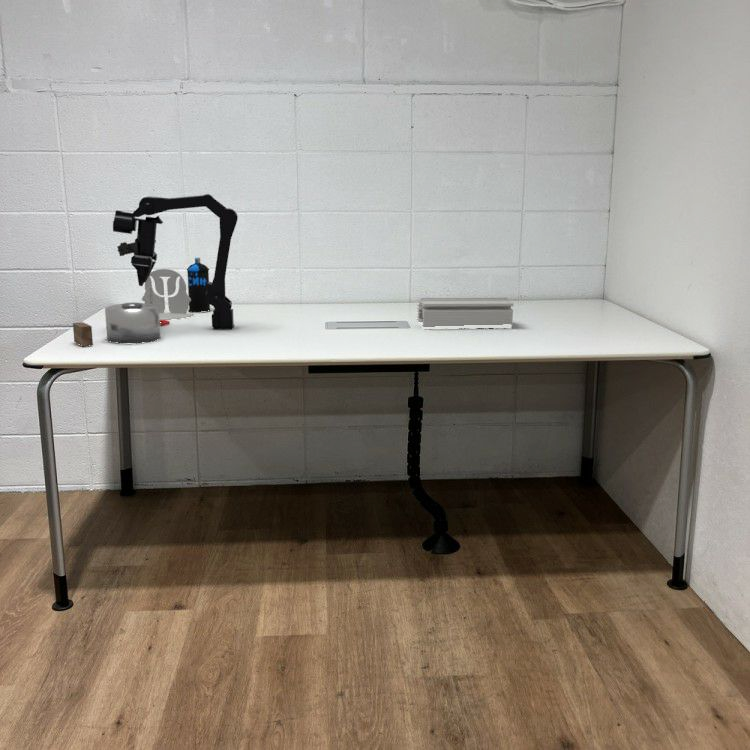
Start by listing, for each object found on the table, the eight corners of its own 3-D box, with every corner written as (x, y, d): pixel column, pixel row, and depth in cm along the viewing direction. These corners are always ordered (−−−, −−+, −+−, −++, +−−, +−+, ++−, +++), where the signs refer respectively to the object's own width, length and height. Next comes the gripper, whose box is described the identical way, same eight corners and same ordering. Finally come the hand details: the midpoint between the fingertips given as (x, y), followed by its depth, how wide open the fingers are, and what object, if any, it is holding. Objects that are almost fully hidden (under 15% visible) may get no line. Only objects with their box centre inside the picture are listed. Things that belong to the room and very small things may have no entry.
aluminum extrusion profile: (416, 323, 283) (417, 295, 280) (501, 322, 286) (502, 294, 283) (423, 330, 269) (424, 301, 267) (512, 330, 272) (513, 300, 270)
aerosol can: (193, 308, 306) (190, 256, 301) (213, 309, 305) (211, 256, 300) (185, 312, 298) (182, 258, 293) (206, 313, 297) (204, 259, 292)
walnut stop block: (84, 341, 244) (82, 322, 243) (93, 345, 238) (91, 326, 237) (74, 342, 243) (72, 323, 241) (82, 347, 236) (81, 327, 235)
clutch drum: (165, 334, 258) (163, 300, 255) (154, 344, 242) (152, 308, 240) (115, 333, 257) (112, 300, 254) (100, 344, 242) (98, 308, 239)
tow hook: (150, 322, 279) (138, 326, 270) (149, 285, 276) (137, 288, 267) (173, 323, 278) (162, 327, 269) (172, 286, 275) (161, 289, 266)
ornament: (195, 315, 292) (193, 269, 288) (181, 321, 279) (179, 274, 275) (139, 313, 295) (136, 268, 291) (122, 319, 283) (119, 272, 279)
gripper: (124, 230, 264) (120, 277, 268) (116, 234, 246) (112, 284, 250) (159, 235, 266) (154, 281, 270) (153, 239, 248) (148, 289, 252)
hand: (142, 284), depth 260 cm, fingers open, 9 cm apart
